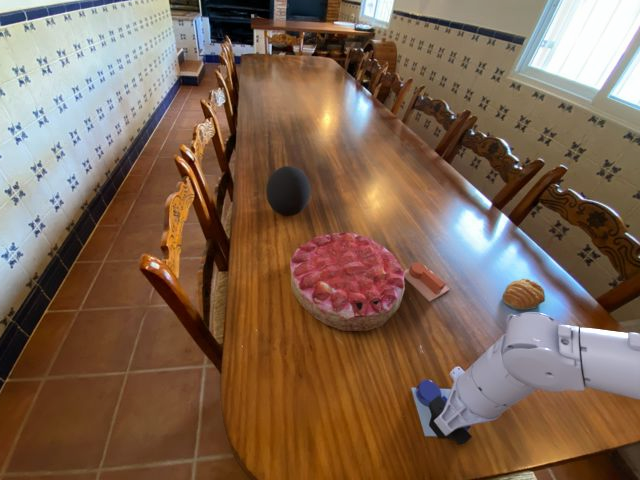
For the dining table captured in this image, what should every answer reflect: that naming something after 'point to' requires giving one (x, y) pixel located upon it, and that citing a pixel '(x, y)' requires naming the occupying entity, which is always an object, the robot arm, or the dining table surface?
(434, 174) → the dining table surface
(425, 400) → the blue spoon
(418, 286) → the rose mat
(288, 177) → the decorative egg
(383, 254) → the cake
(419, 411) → the blue mat
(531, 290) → the pastry
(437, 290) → the terracotta spoon
